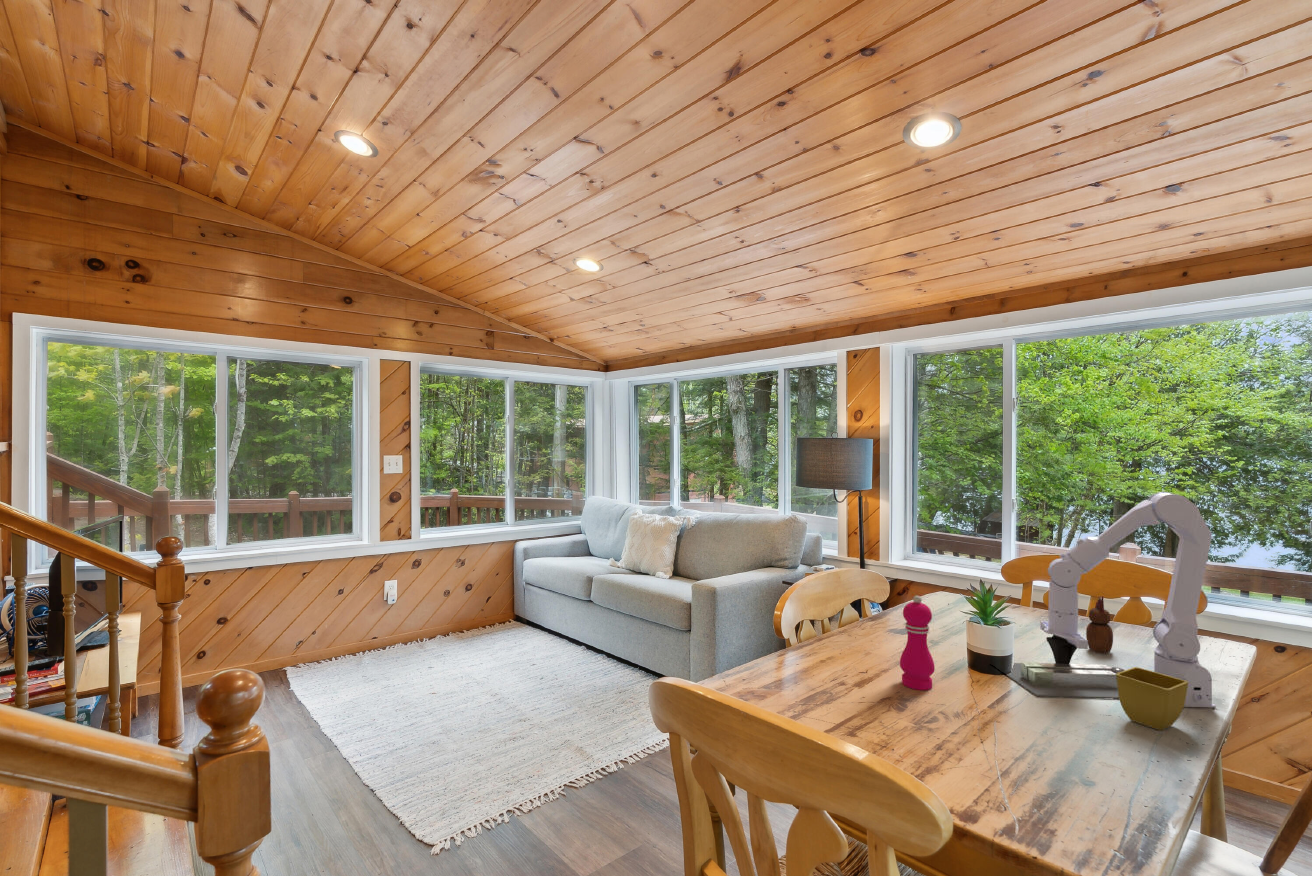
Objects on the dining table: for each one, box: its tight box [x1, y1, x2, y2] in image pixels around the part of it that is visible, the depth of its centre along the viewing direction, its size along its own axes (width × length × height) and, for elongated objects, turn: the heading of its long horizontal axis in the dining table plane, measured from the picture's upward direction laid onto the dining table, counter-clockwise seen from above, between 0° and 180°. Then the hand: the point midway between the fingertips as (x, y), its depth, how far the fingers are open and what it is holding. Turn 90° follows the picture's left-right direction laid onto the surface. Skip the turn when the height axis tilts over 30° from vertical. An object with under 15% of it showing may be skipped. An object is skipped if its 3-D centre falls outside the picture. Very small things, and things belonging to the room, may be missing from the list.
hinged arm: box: [1020, 661, 1125, 680], centre depth 139 cm, size 21×4×3 cm, turn 88°
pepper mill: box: [899, 595, 935, 691], centre depth 137 cm, size 7×7×20 cm
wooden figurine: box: [1085, 595, 1114, 654], centre depth 162 cm, size 7×6×15 cm
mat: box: [1006, 662, 1119, 700], centre depth 140 cm, size 20×27×1 cm
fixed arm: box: [1028, 668, 1117, 688], centre depth 137 cm, size 18×2×3 cm, turn 88°
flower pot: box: [1116, 666, 1188, 731], centre depth 119 cm, size 9×9×9 cm
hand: (1062, 669), depth 142 cm, fingers closed
